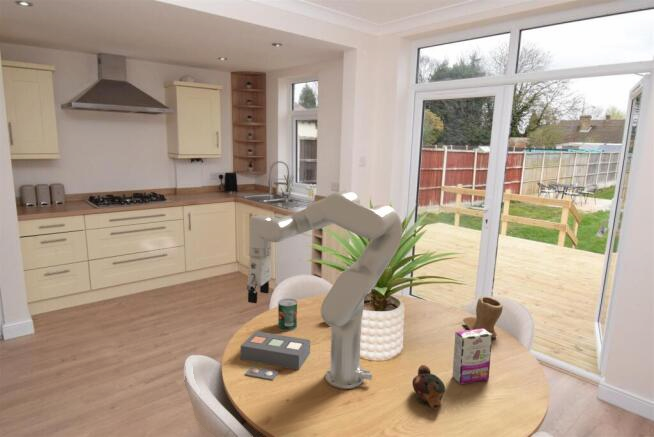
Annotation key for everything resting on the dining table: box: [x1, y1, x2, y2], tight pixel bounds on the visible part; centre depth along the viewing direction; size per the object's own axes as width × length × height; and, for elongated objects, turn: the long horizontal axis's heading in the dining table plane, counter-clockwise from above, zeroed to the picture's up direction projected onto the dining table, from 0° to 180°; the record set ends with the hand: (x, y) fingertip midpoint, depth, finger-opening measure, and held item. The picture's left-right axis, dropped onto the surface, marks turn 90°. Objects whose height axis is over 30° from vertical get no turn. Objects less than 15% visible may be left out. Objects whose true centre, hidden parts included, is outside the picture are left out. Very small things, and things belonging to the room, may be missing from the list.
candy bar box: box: [452, 328, 493, 385], centre depth 134 cm, size 11×5×16 cm, turn 105°
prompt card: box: [244, 366, 280, 381], centre depth 136 cm, size 10×5×1 cm, turn 74°
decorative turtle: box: [411, 364, 446, 410], centre depth 124 cm, size 10×15×8 cm, turn 8°
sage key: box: [268, 339, 284, 347], centre depth 147 cm, size 4×4×2 cm
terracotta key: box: [250, 336, 266, 344], centre depth 149 cm, size 4×4×2 cm
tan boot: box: [463, 296, 503, 339], centre depth 169 cm, size 15×12×15 cm
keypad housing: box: [240, 330, 311, 371], centre depth 147 cm, size 22×12×5 cm, turn 74°
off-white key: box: [286, 342, 302, 350], centre depth 145 cm, size 4×4×2 cm
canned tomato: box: [277, 298, 298, 332], centre depth 170 cm, size 8×8×11 cm
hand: (258, 297), depth 144 cm, fingers open, 9 cm apart
